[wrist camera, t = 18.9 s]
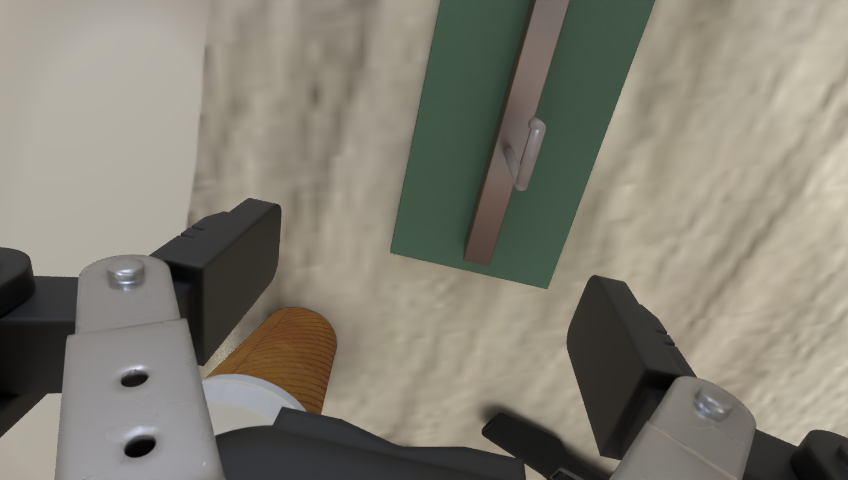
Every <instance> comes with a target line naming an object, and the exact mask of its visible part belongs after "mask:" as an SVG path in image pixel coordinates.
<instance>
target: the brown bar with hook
mask: <svg viewBox="0 0 848 480" xmlns="http://www.w3.org/2000/svg"><path fill="white" fill-rule="evenodd" d="M569 4H570V0H530V4H529V8H528V11H527V15H526V19H525V22H524V26H523V30H522V33H521V37H520V41H519V44H518V48H517V52H516V55H515V59H514V62H513V66H512V70H511V73H510V77H509V81H508V84H507V88H506V92H505V95H504V99H503V103H502V106H501V110H500V114H499V117H498V121H497V125H496V128H495V132H494V136H493V139H492V143H491V147H490V150H489V154H488V158H487V161H486V165H485V169H484V172H483V176H482V179H481V183H480V187H479V190H478V194H477V198H476V201H475V205H474V209H473V212H472V216H471V220H470V223H469V227H468V231H467V234H466V238H465V242H464V253H463V260H464V261H468V262H473V263H477V264H481V265H486V266H489V265H490V262H491V259H492V256H493V252H494V249H495V246H496V243H497V239H498V236H499V233H500V229H501V226H502V223H503V220H504V216H505V213H506V210H507V207H508V203H509V200H510V197H511V193H512V190H513V187H514V185H515V188H516V189H517V190H518V191H524V190H526V189H527V187H528V184H529V181H530V178H531V175H532V171H533V168H534V165H535V162H536V159H537V156H538V153H539V150H540V146H541V143H542V140H543V137H544V134H545V131H546V126H545V124H544V123H543V122H542V121H541V120H540V119H539V118H537V117H535V115H536V112H537V108H538V105H539V102H540V99H541V95H542V92H543V89H544V85H545V82H546V79H547V76H548V72H549V69H550V66H551V63H552V59H553V56H554V53H555V49H556V46H557V43H558V40H559V36H560V33H561V30H562V27H563V23H564V20H565V17H566V13H567V10H568V7H569ZM530 131H531V132H530ZM529 135H530V136H529ZM528 138H529V139H528ZM527 141H528V142H527ZM526 144H527V145H526ZM525 148H526V149H525ZM524 151H525V152H524ZM523 154H524V155H523ZM522 157H523V159H522ZM521 161H522V162H521ZM520 164H521V165H520Z"/></svg>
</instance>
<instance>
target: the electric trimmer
mask: <svg viewBox="0 0 848 480" xmlns="http://www.w3.org/2000/svg"><path fill="white" fill-rule="evenodd" d="M482 435H483V436H484V437H486V438H487V439H489V440H490V441H492V442H493V443H495V444H496V445H498V446H499V447H501V448H502V449H504V450H505V451H507V452H508V453H510V454H511V455H513V456H514V457H516V458H517V459H522V460H524V463H525V464H526V465H528V466H529V467H531V468H532V469H534V470H535V471H537V472H538V473H540V474H541V475H543V476H544V477H545V478H546V479H547V480H609V479H610V478H608V477H607V476H605V475H603V474H602V473H600V472H598V471H597V470H595V469H594V468H592V467H590V466H589V465H587V464H585V463H584V462H582V461H580V460H579V459H577V458H575V457H574V456H572V455H571V454H569V453H568V452H567V450H566V449H565V447H564V446H563V444H562V442H561V441H560V440H559V439H557V438H555V437H553V436H551V435H549V434H547V433H545V432H543V431H541V430H539V429H537V428H535V427H532V426H530V425H528V424H526V423H524V422H522V421H519V420H517V419H515V418H513V417H511V416H509V415H506V414H504V413H498V414H497V415H496V416H495V417H494V418H493V419H492V420H490V421H489V422H488V423H487V424H486V425H485V426H484V427H483V429H482Z"/></svg>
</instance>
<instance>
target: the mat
mask: <svg viewBox="0 0 848 480" xmlns="http://www.w3.org/2000/svg"><path fill="white" fill-rule="evenodd" d="M654 2H655V0H570V4H569V7H568V10H567V13H566V17H565V20H564V23H563V27H562V30H561V33H560V36H559V40H558V43H557V46H556V49H555V53H554V56H553V59H552V63H551V66H550V69H549V72H548V76H547V79H546V82H545V85H544V89H543V92H542V95H541V99H540V102H539V105H538V108H537V112H536V115H535V117H537V118H539V119H540V120H541V121H542V122H543V123H544V124H545V126H546V131H545V134H544V137H543V140H542V143H541V146H540V150H539V153H538V156H537V159H536V162H535V165H534V168H533V171H532V175H531V178H530V181H529V184H528V187H527V189H526V190H524V191H518V190H517V189H516V188H515V185H514V187H513V190H512V193H511V197H510V200H509V203H508V207H507V210H506V213H505V216H504V220H503V223H502V226H501V229H500V233H499V236H498V239H497V243H496V246H495V249H494V252H493V256H492V259H491V262H490V265H489V266H486V265H481V264H477V263H473V262H468V261H464V260H463V253H464V242H465V238H466V234H467V231H468V227H469V223H470V220H471V216H472V212H473V209H474V205H475V201H476V198H477V194H478V190H479V187H480V183H481V179H482V176H483V172H484V169H485V165H486V161H487V158H488V154H489V150H490V147H491V143H492V139H493V136H494V132H495V128H496V125H497V121H498V117H499V114H500V110H501V106H502V103H503V99H504V95H505V92H506V88H507V84H508V81H509V77H510V73H511V70H512V66H513V62H514V59H515V55H516V52H517V48H518V44H519V41H520V37H521V33H522V30H523V26H524V22H525V19H526V15H527V11H528V8H529V4H530V0H441V2H440V7H439V12H438V17H437V22H436V27H435V32H434V37H433V42H432V47H431V52H430V57H429V62H428V67H427V72H426V77H425V81H424V86H423V91H422V96H421V101H420V106H419V111H418V116H417V121H416V126H415V131H414V136H413V141H412V146H411V151H410V156H409V161H408V166H407V171H406V176H405V181H404V186H403V191H402V196H401V201H400V206H399V210H398V215H397V220H396V225H395V230H394V235H393V240H392V245H391V250H390V253H393V254H398V255H402V256H406V257H411V258H415V259H419V260H424V261H428V262H432V263H437V264H441V265H445V266H450V267H454V268H458V269H463V270H467V271H471V272H476V273H480V274H484V275H489V276H493V277H497V278H502V279H506V280H510V281H515V282H519V283H523V284H527V285H532V286H536V287H540V288H545V289H548V286H549V284H550V281H551V278H552V276H553V273H554V270H555V268H556V265H557V262H558V259H559V257H560V254H561V251H562V249H563V246H564V243H565V241H566V238H567V235H568V233H569V230H570V227H571V225H572V222H573V219H574V217H575V214H576V211H577V208H578V206H579V203H580V200H581V198H582V195H583V192H584V190H585V187H586V184H587V182H588V179H589V176H590V174H591V171H592V168H593V166H594V163H595V160H596V158H597V155H598V152H599V149H600V147H601V144H602V141H603V139H604V136H605V133H606V131H607V128H608V125H609V123H610V120H611V117H612V115H613V112H614V109H615V107H616V104H617V101H618V98H619V96H620V93H621V90H622V88H623V85H624V82H625V80H626V77H627V74H628V72H629V69H630V66H631V64H632V61H633V58H634V56H635V53H636V50H637V47H638V45H639V42H640V39H641V37H642V34H643V31H644V29H645V26H646V23H647V21H648V18H649V15H650V13H651V10H652V7H653V5H654ZM530 132H531V131H530ZM529 136H530V135H529ZM528 139H529V138H528ZM527 142H528V141H527ZM526 145H527V144H526ZM525 149H526V148H525ZM524 152H525V151H524ZM523 155H524V154H523ZM522 159H523V157H522ZM521 162H522V161H521ZM520 165H521V164H520Z"/></svg>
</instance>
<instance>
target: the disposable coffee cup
mask: <svg viewBox="0 0 848 480" xmlns="http://www.w3.org/2000/svg"><path fill="white" fill-rule="evenodd" d="M336 347H337V344H336V336H335V333H334V331H333V329H332V327H331V326H330V325H329V323H328V322H327V321H326V320H325V319H324V318H322V317H321V316H320V315H318V314H317V313H314V312H312V311H310V310H307V309H304V308H297V307H292V308H284V309H281V310H279V311H277V312H275V313H273V314H272V315H271V316H270V317H269V318H268V319H267V320H266V321H265V322H264V323H263V324H262V325H261V326H260V327H258V328H257V329H256V330H255V331H254V332H253V333H252V334H251V335H250V336H249V337H248V338H247V339H246V340H245V341H244V342H243V343H242V344H241V345H239V347H237V348H236V349H235V350H234V351H233V352H232V353H231V354H230V355H229V356H228V357H227V358H226V359H225V360H224V361H223V362H222V363H221V364H219V365H218V366H217V367H216V368H215V369H214V370H213V371H212V372H211V373H210V374H209V375H208V376H207V377H206V378H205V379H204V380H202V385H203V389H204V393H205V397H206V402H207V406H208V410H209V414H210V418H211V422H212V427H213V431H214V435H218V434H221V433H224V432H228V431H231V430H235V429H240V428H245V427H251V426H261V425H273V423H274V421H275V419H276V417H277V415H278V413H279V411H280V409H281V407H282V406H283V407H288V408H292V409H297V410H301V411H306V412H310V413H315V414H319V415H321V411H322V407H323V403H324V398H325V394H326V390H327V385H328V381H329V377H330V373H331V368H332V364H333V360H334V355H335V351H336Z"/></svg>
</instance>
